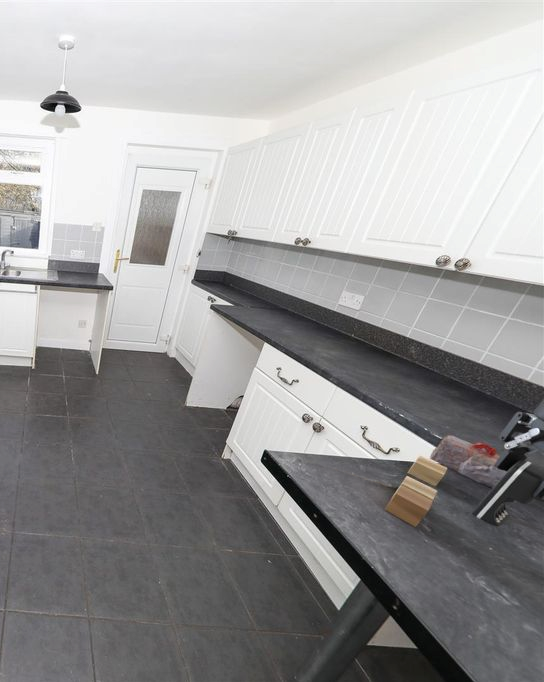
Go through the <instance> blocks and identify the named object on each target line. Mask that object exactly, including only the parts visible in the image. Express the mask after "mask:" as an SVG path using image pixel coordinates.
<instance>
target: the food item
mask: <svg viewBox="0 0 544 682" xmlns="http://www.w3.org/2000/svg"><path fill="white" fill-rule="evenodd" d="M497 453H498V451H497V449H496V448H493V447H491V446H490V445H489V444H486V443H483V442H479V441H477V442H475V443H471V442H469V441H467V440H463V439H461V438H460V437H459V438H458V437H457V436H454V435H448V434H447V435H444V436H443V438H442V440H441V441H440V443H439V444H438V445H437V447H435V448H434V449H433V450H432V452H431V454H430V456H429V460H431V461H433V462H435V463H438V464H440V465H442V466H444V467H446V468H447V469H451V470H453V471H455V472H457V473H459V474H461V475H463V476H465V477H467V478H469V479H471V480H473V481H475V482H477V483H479V484H483V485H485V486H487V487H489V488H491V489H492V488H493V487H494V486H495V485H496V484H497V483H498V481H499V480H500V479H501V478H502V477H503V476H504V475H505V473H506V472H507V471H504V470H500V469H498V468H497V467H496V466H495V463H496V462H497V459H498V458H499V457H500V456H501V455H499V454H497Z"/></svg>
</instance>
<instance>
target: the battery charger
mask: <svg viewBox="0 0 544 682" xmlns="http://www.w3.org/2000/svg"><path fill="white" fill-rule="evenodd" d="M543 481H544V468H543V467H541V466H539V465H537V464H534V463H532V462H530V461H527V460H525V461H524V460H520V461H519V462H517V463H516V464H515V465H513V466H512V467H511V468H510V469H509V470H508V471H507V472H506V473H505V475H504V476H503V477H502V478H501V479H500V480H499V481H498V483H497V484H496V485H495V486H494V487H493V488H491V489H490V491H488V493H487V494H486V495H485V496H484V497H483V499H482V500H481V501H480V502H479V503H478V505H476V507H475V508H474V509H473V510H472V512H471V514H472V515H473V516H474V517H476V518H477V519H479V520H482V521H483V522H485V523H487V524H490V525H492V526H494V527H502V526H503V524H505V523H506V522H507V521H508V520H509V519H511V515H510V514H509V513H508V509H507V503H515V502H518V503H520V504H523V505H527V506H528V505H531V504H533V503H534V502H535V501H537V500H536V499H534V498H533V497H532V496H531V494H532V493H533V492H534V491H535V490H536V488H537V487H538V486H539V485H540V484H541V483H542V482H543Z"/></svg>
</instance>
